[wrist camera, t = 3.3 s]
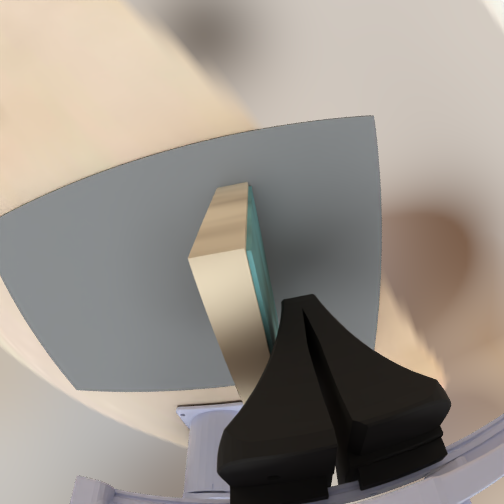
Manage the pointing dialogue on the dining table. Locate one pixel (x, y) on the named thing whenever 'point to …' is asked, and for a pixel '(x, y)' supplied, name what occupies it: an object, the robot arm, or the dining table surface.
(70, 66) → the dining table surface
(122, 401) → the dining table surface
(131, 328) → the rubber mat
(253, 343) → the birch tile
